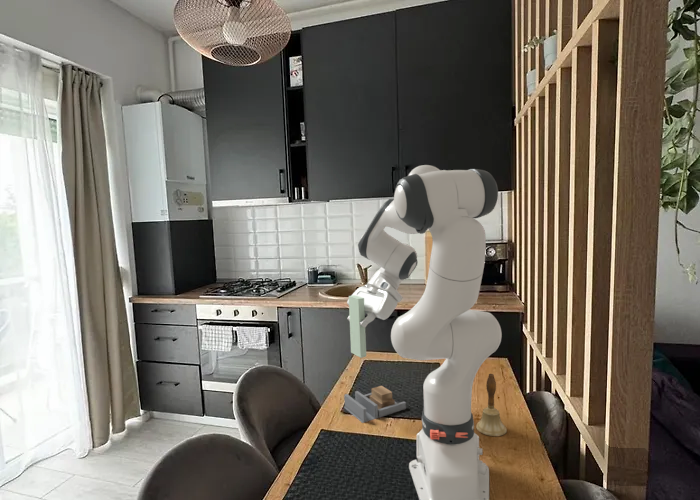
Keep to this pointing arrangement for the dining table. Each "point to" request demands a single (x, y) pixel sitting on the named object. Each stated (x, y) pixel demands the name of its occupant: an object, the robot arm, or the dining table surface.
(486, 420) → the hand bell
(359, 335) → the sage panel
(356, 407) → the charcoal rack
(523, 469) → the dining table surface
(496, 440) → the dining table surface
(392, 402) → the bottom offcut
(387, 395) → the top offcut
